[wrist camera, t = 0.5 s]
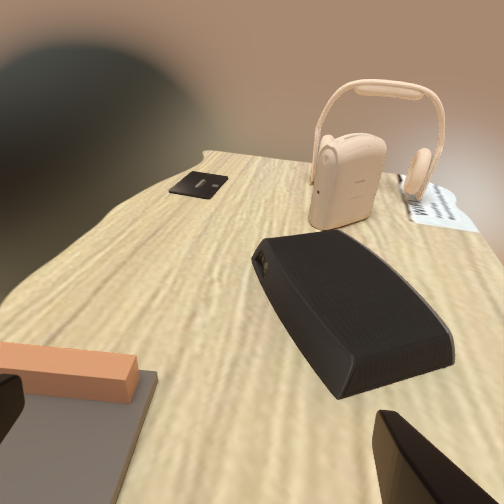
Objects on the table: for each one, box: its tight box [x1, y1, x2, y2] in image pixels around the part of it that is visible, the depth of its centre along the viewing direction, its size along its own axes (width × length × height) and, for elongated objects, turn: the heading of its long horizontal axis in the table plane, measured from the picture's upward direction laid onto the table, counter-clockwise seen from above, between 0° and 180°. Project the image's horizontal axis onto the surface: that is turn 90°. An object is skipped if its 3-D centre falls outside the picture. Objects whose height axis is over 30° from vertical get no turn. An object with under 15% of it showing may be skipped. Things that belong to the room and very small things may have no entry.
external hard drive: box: [251, 229, 455, 399], centre depth 34 cm, size 13×19×4 cm
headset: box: [311, 79, 445, 200], centre depth 56 cm, size 20×7×18 cm, turn 71°
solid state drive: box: [169, 171, 228, 199], centre depth 59 cm, size 7×10×1 cm
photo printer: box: [309, 133, 387, 230], centre depth 48 cm, size 10×4×12 cm, turn 123°
